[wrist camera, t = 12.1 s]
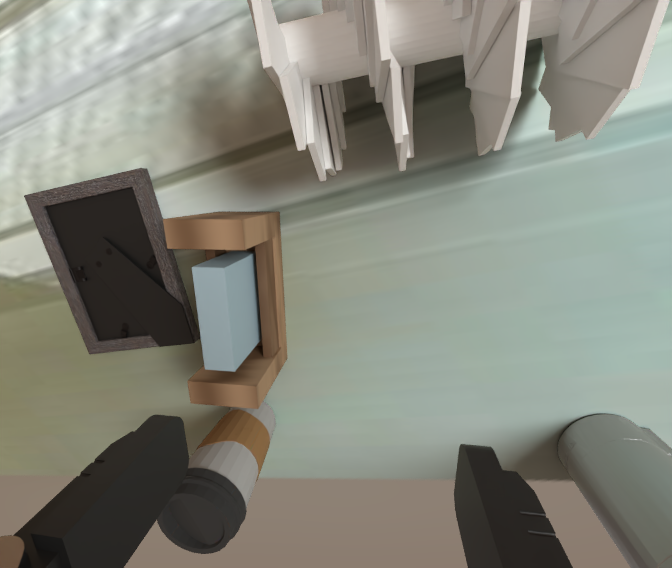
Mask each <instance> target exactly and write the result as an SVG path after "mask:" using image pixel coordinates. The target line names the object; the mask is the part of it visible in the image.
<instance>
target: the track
mask: <svg viewBox="0 0 672 568" xmlns="http://www.w3.org/2000/svg"><path fill="white" fill-rule="evenodd" d="M163 223H164V230H165V237H166V243H167V249H205V252H206V260H207V261H208V260H210V259H213V258H215V257H218V256H220V255H223V254H225V253H228V252H230V251H255V252H256V265H257V278H258V291H259V304H260V318H261V331H262V339H261V340H260V341H259V343H258V344H257V345H256V346H255V348H254V349H253V350H252V351H251V352H250V354H249V355H248V356H247V357H246V359H245V360H244V361H243V362H242V363H241V365H240V366H239V367H238V368H237V370H236V371H235V372H233V371H219V370H206V369H205V366H204V365H203V366H202V367H201V368H200V369H199V370H198V371H197V372H196V373H195V374H194V375H193V376H192V377H191V378H190V379H189V380H188V388H189V395H190V401H191V403H194V404H205V405H217V406H228V407H240V408H252V409H259V407H260V405H261V403H262V402H263V400H264V398H265V396H266V395H267V393H268V391H269V389H270V388H271V386H272V384H273V382H274V381H275V379H276V377H277V375H278V374H279V372H280V370H281V368H282V367H283V365H284V363H285V361H286V360H287V343H286V324H285V306H284V287H283V269H282V250H281V232H280V213H279V212H214V213H206V214H199V215H191V216H183V217H176V218H168V219H163Z"/></svg>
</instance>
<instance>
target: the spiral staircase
mask: <svg viewBox="0 0 672 568" xmlns="http://www.w3.org/2000/svg"><path fill="white" fill-rule="evenodd" d="M247 1H248V4H249V8H250V11H251V15H252V19H253V22H254V26H255V30H256V33H257V37H258V41H259V47H260V52H261V58H262V64H263V68H264V70H265V71H266V73H267V74H268V76H269V77H270V78H271V80H272V81H273V83H274V84H275V86H276V87H277V88H278V90H279V91H280V93H281V94H282V96H283V99H284V100H285V102H286V106H287V110H288V114H289V118H290V122H291V126H292V130H293V134H294V138H295V141H296V145H297V149H298V151H300V150H305V149H306V145H308V148H309V151H310V154H311V157H312V159H313V162H314V165H315V168H316V171H317V174H318V177H319V180H320V182H321V181H326V172H325V169H326V171H327V172H328V173H329V174H330V175H331V176H334V175H337V174H336V171H338V170H342V166H343V158H342V151H341V149H342V150H343V149H347V147H346V137H345V127H344V120H343V114H342V112H346V106H345V98H344V91H343V84H342V80H346V79H351V78H356V77H360V76H365V75H369V81H370V87H375V96H376V103H378V102H382V105H383V108H384V111H385V114H386V117H387V120H388V123H389V126H390V129H391V132H392V135H393V138H394V143H395V149H396V155H397V161H398V167H399V171H405V170H406V161H407V160H408V159H409V158H414V144H413V123H412V119H413V96H414V73H415V65H416V64H421V63H425V62H430V61H435V60H439V59H444V58H449V57H453V56H458V55H463V60H464V69H465V78H466V85H465V87H467V88H470V90H471V100H470V107H469V109H470V110H471V112H472V114H473V116H474V120H475V130H476V145H477V148H478V156H481V155H485V154H486V153H487V152H488V151H489V150H491V149H492V148H493V151H495V150H501V148H502V145H503V143H504V140H505V137H506V134H507V132H508V129H509V126H510V123H511V121H512V118H513V115H514V112H515V110H516V107H517V104H518V101H519V98H520V96H521V84H522V75H523V67H524V59H525V50H526V42H527V41H528V40H532V39H537V38H541V40H542V46H543V53H544V59H545V65H546V68H545V71H544V74H543V77H542V80H541V83H540V86H539V91H540V92H541V94H542V95H543V96H544V98H545V99H546V101H547V102H548V103H549V105H550V106H551V111H550V120H549V129H548V130H555V141H556V142H557V141H562V140H565V139H567V138H569V137H571V136H573V135H576V134H578V133H580V132H583V134H584V136H585V138H586V140H587V139H593V138H595V136H596V135H597V134H598V132H599V131H600V130H601V128H602V127H603V126H604V124H605V123H606V122H607V120H608V119H609V118H610V116H611V115H612V114H613V112H614V111H615V110H616V108H617V107H618V106H619V104H620V103H621V102H622V100H623V99H624V98H625V96H626V95H627V94H628V92H629V91H630V90H631V89H636V88H639V87H640V84H641V81H642V78H643V75H644V72H645V69H646V67H647V64H648V61H649V58H650V55H651V52H652V49H653V46H654V44H655V41H656V38H657V35H658V32H659V29H660V26H661V24H662V21H663V18H664V15H665V12H666V9H667V6H668V4H669V1H670V0H322V6H323V14H319V15H315V16H310V17H306V18H302V19H298V20H294V21H290V22H286V23H282V24H278V22H277V19H276V16H275V13H274V9H273V6H272V3H271V0H247ZM340 144H341V145H340ZM335 166H336V167H335Z"/></svg>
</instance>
